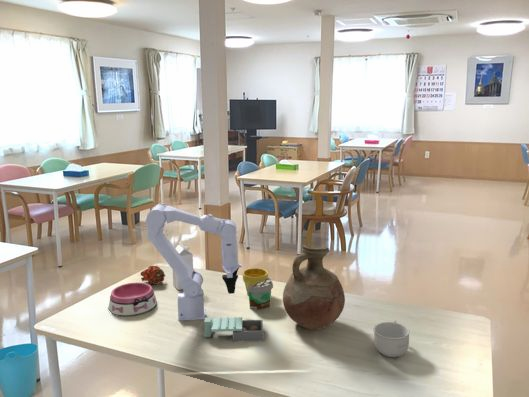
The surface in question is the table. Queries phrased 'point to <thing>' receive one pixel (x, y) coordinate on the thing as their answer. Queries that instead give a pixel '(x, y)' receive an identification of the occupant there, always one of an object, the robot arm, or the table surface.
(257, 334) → the tub
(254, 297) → the food container
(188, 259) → the milk carton
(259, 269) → the plant pot
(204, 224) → the robot arm
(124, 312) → the dog bowl
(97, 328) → the table surface
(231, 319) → the teal ridged block
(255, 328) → the walnut ball
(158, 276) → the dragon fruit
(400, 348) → the teacup
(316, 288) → the jug
